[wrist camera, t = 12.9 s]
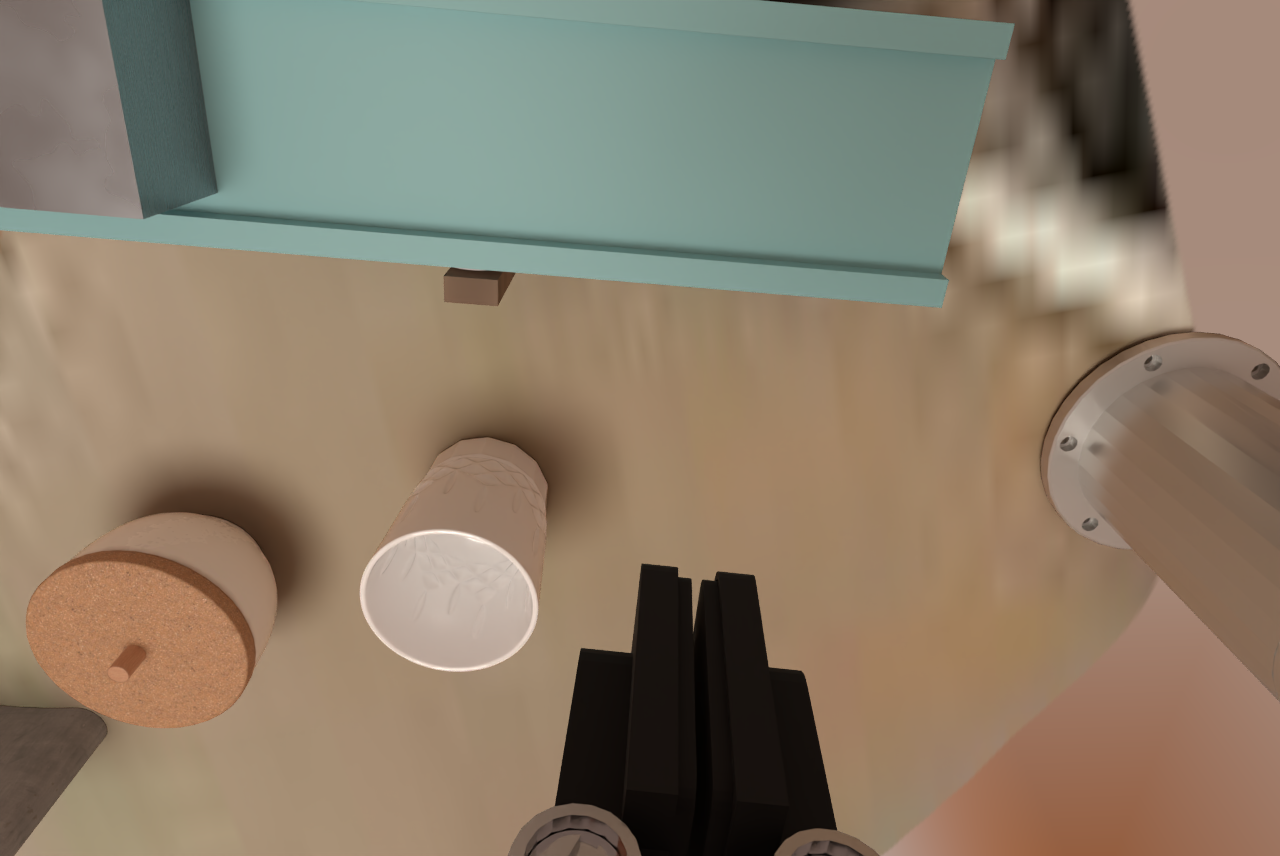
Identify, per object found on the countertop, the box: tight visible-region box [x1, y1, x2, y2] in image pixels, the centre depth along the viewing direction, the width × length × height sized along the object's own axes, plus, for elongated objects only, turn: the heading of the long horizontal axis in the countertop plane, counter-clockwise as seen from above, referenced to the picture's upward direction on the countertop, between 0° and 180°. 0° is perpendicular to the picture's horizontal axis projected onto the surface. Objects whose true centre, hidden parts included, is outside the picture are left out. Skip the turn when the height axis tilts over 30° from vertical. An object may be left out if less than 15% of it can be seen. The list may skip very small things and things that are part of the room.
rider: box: [0, 0, 218, 219], centre depth 24 cm, size 6×6×4 cm
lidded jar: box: [26, 512, 277, 728], centre depth 42 cm, size 11×11×9 cm
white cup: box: [360, 437, 548, 672], centre depth 40 cm, size 8×8×10 cm
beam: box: [0, 0, 1015, 308], centre depth 27 cm, size 34×10×5 cm, turn 85°
